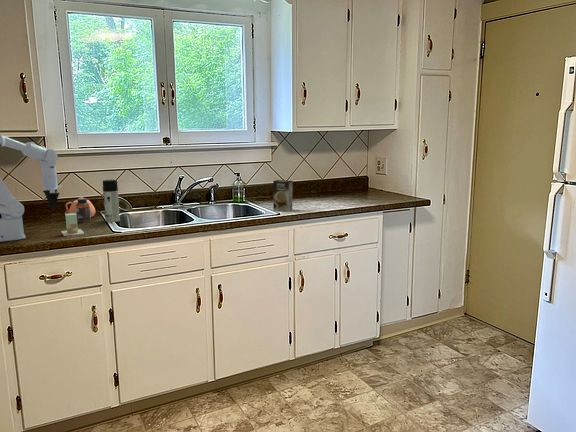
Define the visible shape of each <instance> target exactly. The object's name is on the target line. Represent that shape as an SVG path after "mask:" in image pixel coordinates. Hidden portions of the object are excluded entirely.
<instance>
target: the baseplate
mask: <svg viewBox="0 0 576 432" xmlns="http://www.w3.org/2000/svg"><path fill="white" fill-rule="evenodd" d="M61 233H62V235H63V236H64V237H65V236H75V235H84V234H85V232H84V231H83V230H82V228H78V233H71V234H68V233H67V230H61Z"/></svg>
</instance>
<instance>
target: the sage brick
mask: <svg viewBox="0 0 576 432" xmlns="http://www.w3.org/2000/svg"><path fill="white" fill-rule="evenodd" d="M64 216H65V224H67V225H69V224H78V220H77V214H76V213H70V214H68V213H67V214H65V213H64Z"/></svg>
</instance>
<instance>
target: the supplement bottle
mask: <svg viewBox="0 0 576 432" xmlns="http://www.w3.org/2000/svg"><path fill="white" fill-rule="evenodd" d="M79 198H80V199H78V198H77V200H78V203H77V204H76V210H77V223H80V224H81V223H88V222H91V220H92V217H90V207H89V203H87V200H88V199H87V197H86V198H85V197H79Z"/></svg>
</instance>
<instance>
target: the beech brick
mask: <svg viewBox="0 0 576 432" xmlns="http://www.w3.org/2000/svg"><path fill="white" fill-rule="evenodd" d="M65 224H66V223H65ZM65 226H66V231H67V233H68V234H71V233H78V229H79V227H78V226H79V225H78V223H77V224H69V225H67V224H66V225H65Z"/></svg>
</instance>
